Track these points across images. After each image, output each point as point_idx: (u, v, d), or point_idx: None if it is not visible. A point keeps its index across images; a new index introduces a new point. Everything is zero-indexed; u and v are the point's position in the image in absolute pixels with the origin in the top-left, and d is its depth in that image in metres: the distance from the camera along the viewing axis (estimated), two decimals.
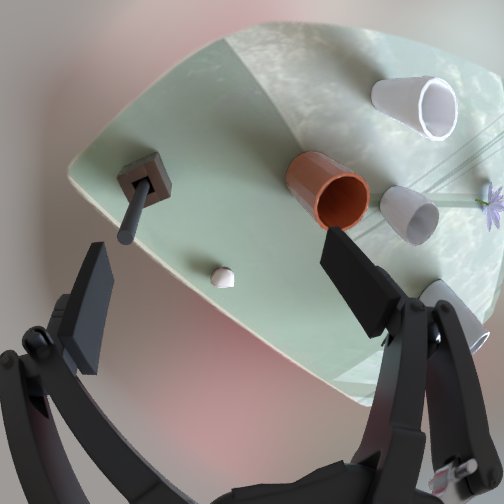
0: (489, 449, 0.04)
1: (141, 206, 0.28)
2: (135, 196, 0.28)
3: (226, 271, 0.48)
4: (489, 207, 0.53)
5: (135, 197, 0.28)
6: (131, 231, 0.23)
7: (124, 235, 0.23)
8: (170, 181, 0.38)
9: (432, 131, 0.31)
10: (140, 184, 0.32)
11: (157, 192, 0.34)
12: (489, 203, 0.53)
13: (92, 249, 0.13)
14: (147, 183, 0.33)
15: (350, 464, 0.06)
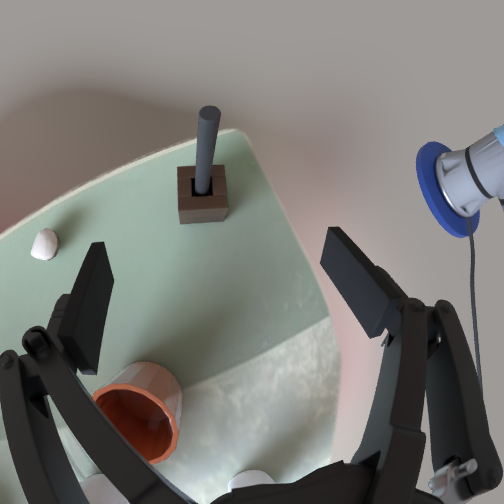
0: (489, 449, 0.04)
1: (204, 162, 0.24)
2: None
3: (52, 251, 0.28)
4: None
5: (212, 163, 0.25)
6: (213, 122, 0.18)
7: (213, 113, 0.18)
8: (185, 223, 0.34)
9: None
10: (209, 182, 0.29)
11: (189, 198, 0.30)
12: None
13: (92, 249, 0.13)
14: (205, 191, 0.30)
15: (350, 464, 0.06)
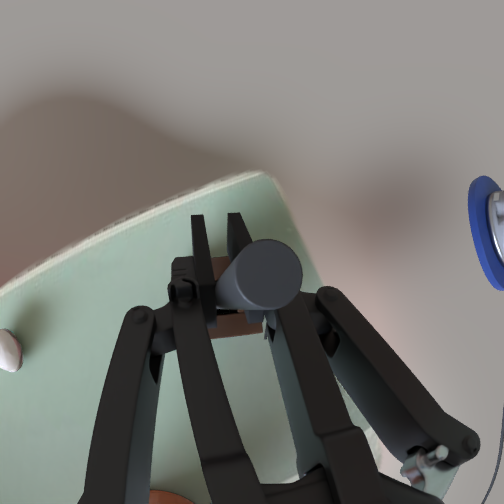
0: (451, 423, 0.06)
1: None
2: None
3: (15, 365, 0.16)
4: None
5: None
6: (279, 307, 0.06)
7: (279, 274, 0.06)
8: None
9: None
10: None
11: None
12: None
13: (194, 220, 0.16)
14: None
15: None
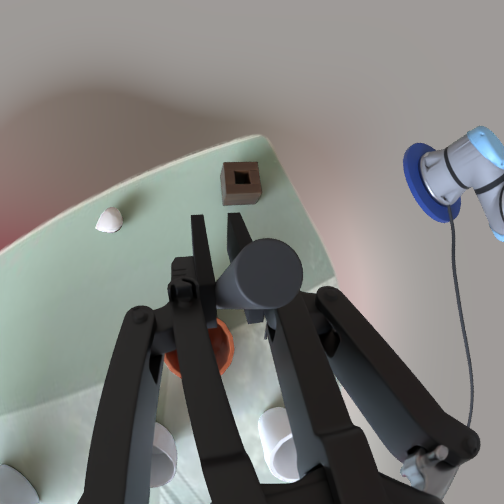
0: (451, 423, 0.06)
1: None
2: None
3: (118, 225, 0.40)
4: None
5: None
6: (279, 306, 0.06)
7: (280, 273, 0.06)
8: None
9: None
10: None
11: (234, 185, 0.41)
12: None
13: (194, 219, 0.16)
14: None
15: None
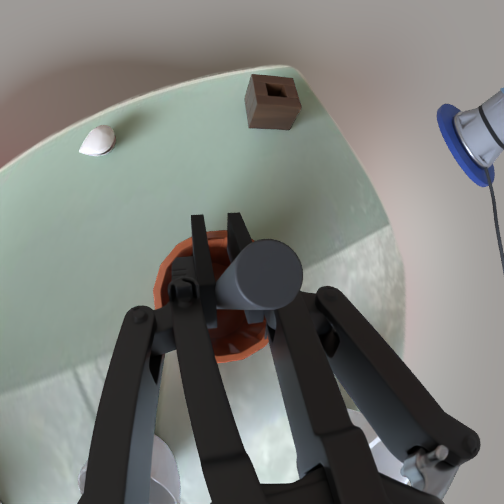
0: (451, 423, 0.06)
1: None
2: None
3: (108, 144, 0.27)
4: None
5: None
6: (280, 307, 0.06)
7: (280, 274, 0.06)
8: (253, 127, 0.33)
9: None
10: None
11: (266, 96, 0.29)
12: None
13: (195, 219, 0.16)
14: None
15: None
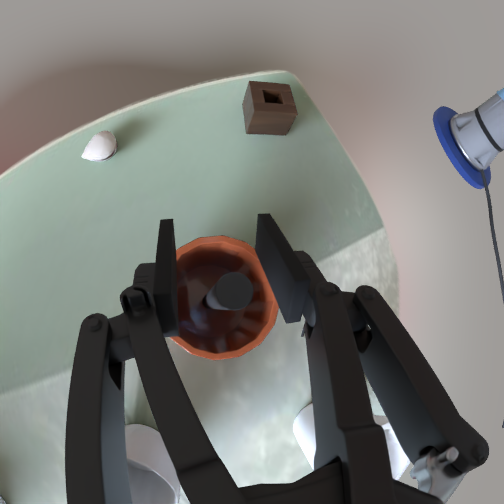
0: (465, 428, 0.06)
1: None
2: None
3: (110, 150, 0.28)
4: None
5: None
6: (241, 308, 0.11)
7: (240, 291, 0.11)
8: (251, 133, 0.34)
9: None
10: None
11: (263, 103, 0.30)
12: None
13: (163, 224, 0.15)
14: None
15: None
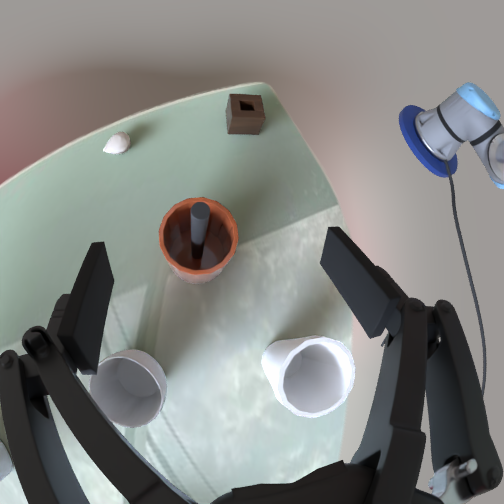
0: (489, 449, 0.04)
1: (198, 238, 0.28)
2: None
3: (126, 146, 0.39)
4: None
5: (205, 235, 0.29)
6: (203, 220, 0.22)
7: (203, 210, 0.22)
8: (231, 133, 0.45)
9: None
10: None
11: (239, 111, 0.41)
12: None
13: (92, 249, 0.13)
14: (200, 251, 0.34)
15: (350, 464, 0.06)
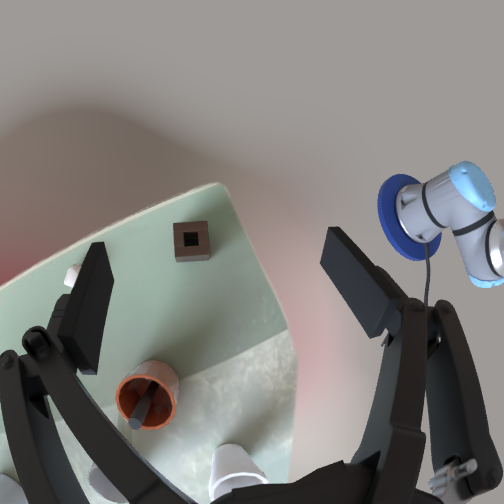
0: (489, 449, 0.04)
1: None
2: (150, 403, 0.31)
3: None
4: None
5: (150, 404, 0.31)
6: (138, 428, 0.24)
7: (136, 424, 0.24)
8: (180, 261, 0.47)
9: (214, 491, 0.30)
10: (154, 394, 0.35)
11: (182, 248, 0.42)
12: None
13: (92, 249, 0.13)
14: None
15: (350, 464, 0.06)
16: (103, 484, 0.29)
